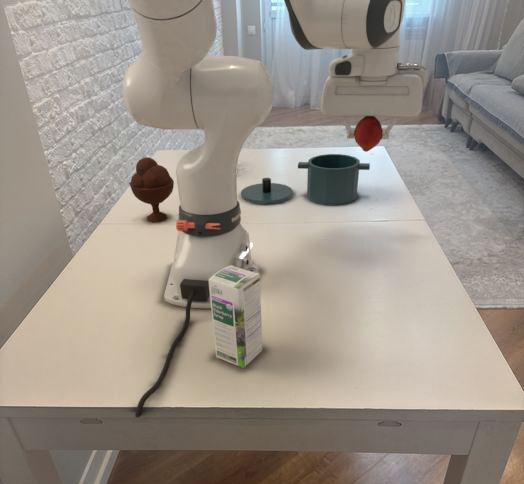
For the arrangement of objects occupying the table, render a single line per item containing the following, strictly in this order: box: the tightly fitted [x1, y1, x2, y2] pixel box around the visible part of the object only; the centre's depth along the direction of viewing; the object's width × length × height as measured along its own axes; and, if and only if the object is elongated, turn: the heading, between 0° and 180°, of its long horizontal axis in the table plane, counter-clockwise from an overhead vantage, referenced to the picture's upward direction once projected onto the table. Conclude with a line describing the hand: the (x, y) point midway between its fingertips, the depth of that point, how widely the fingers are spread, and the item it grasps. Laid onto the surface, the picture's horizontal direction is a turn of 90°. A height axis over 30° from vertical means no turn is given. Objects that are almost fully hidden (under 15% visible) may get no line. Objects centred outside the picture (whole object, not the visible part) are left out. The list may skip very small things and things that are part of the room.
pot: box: [297, 153, 371, 206], centre depth 134 cm, size 14×19×10 cm
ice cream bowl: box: [128, 156, 175, 224], centre depth 123 cm, size 11×11×15 cm
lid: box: [240, 177, 294, 204], centre depth 137 cm, size 15×15×5 cm
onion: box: [354, 116, 383, 153], centre depth 103 cm, size 6×6×8 cm
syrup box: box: [209, 265, 263, 369], centre depth 76 cm, size 6×6×14 cm
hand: (367, 138), depth 104 cm, fingers closed on onion, 6 cm apart
